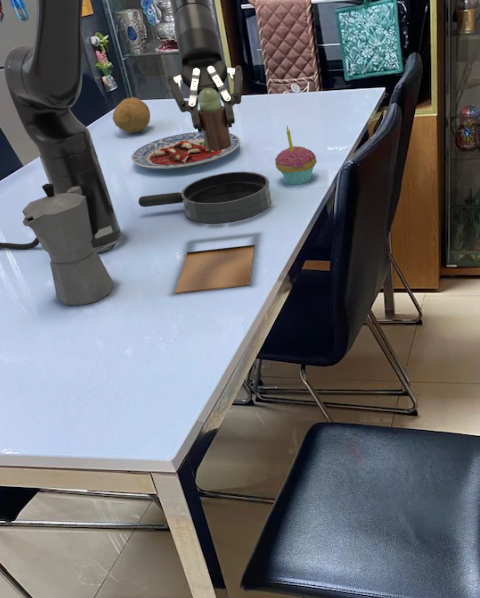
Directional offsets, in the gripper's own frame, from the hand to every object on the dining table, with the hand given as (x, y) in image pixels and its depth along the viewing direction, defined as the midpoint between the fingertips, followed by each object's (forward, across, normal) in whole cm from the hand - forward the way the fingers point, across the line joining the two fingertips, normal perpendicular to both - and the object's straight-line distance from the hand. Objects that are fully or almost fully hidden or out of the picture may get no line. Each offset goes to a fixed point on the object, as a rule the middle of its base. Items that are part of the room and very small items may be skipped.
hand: (215, 126), depth 127 cm
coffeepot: (+27, -26, -4) cm, 38 cm away
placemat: (+26, -4, -3) cm, 26 cm away
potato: (-40, -22, +64) cm, 78 cm away
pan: (+9, 0, +14) cm, 17 cm away
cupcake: (+3, +15, +20) cm, 25 cm away
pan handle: (+6, -13, +14) cm, 20 cm away
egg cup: (+1, 0, +4) cm, 4 cm away
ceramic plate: (-18, -8, +42) cm, 46 cm away
